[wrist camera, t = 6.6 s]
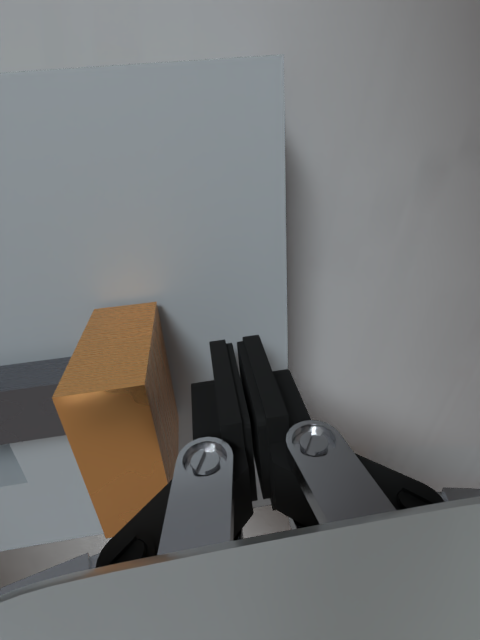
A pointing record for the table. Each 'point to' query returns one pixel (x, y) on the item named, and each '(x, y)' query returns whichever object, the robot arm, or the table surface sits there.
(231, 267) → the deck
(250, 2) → the table surface
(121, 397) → the sled
